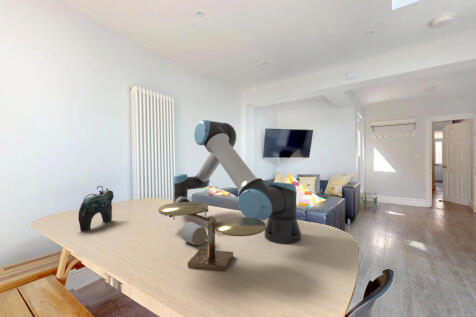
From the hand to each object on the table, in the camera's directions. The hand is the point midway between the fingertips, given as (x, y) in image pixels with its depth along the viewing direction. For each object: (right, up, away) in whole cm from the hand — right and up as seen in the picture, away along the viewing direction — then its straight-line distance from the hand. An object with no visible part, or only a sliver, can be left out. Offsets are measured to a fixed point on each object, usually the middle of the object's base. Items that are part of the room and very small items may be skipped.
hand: (190, 214), depth 96 cm
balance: (+13, -9, -26) cm, 30 cm away
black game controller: (-51, -9, +16) cm, 54 cm away
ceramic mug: (+5, -9, -9) cm, 13 cm away
